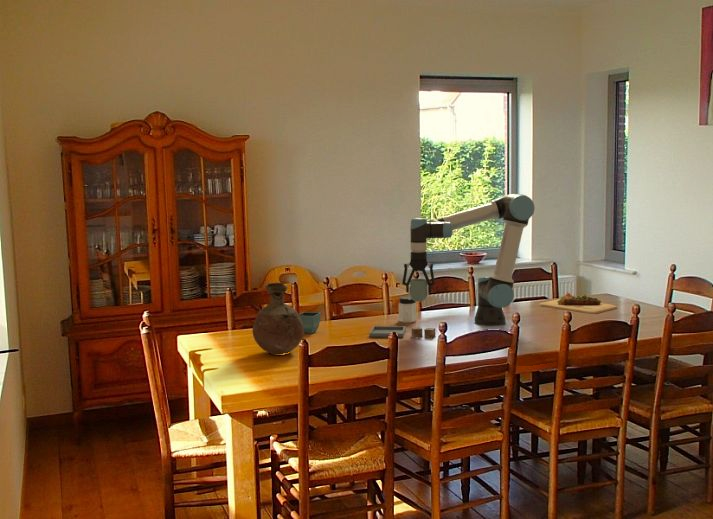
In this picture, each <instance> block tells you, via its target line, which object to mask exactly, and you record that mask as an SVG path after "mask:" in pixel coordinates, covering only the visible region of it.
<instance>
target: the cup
mask: <svg viewBox="0 0 713 519" xmlns="http://www.w3.org/2000/svg"><path fill="white" fill-rule="evenodd" d="M409 285H410V291H411V298H412V300H413V301H415V302H416V303H417V302H419V303H420V302H422V303H423V302H424V301H425V300H427V286H428V283H427V281H426V279H425V278H412V279H411V281H410V283H409Z"/></svg>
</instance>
